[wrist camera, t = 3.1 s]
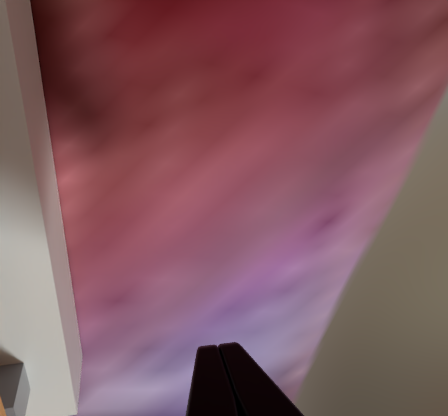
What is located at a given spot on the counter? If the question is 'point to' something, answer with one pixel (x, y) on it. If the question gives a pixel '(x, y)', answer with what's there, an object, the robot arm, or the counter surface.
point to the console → (32, 239)
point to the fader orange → (2, 409)
